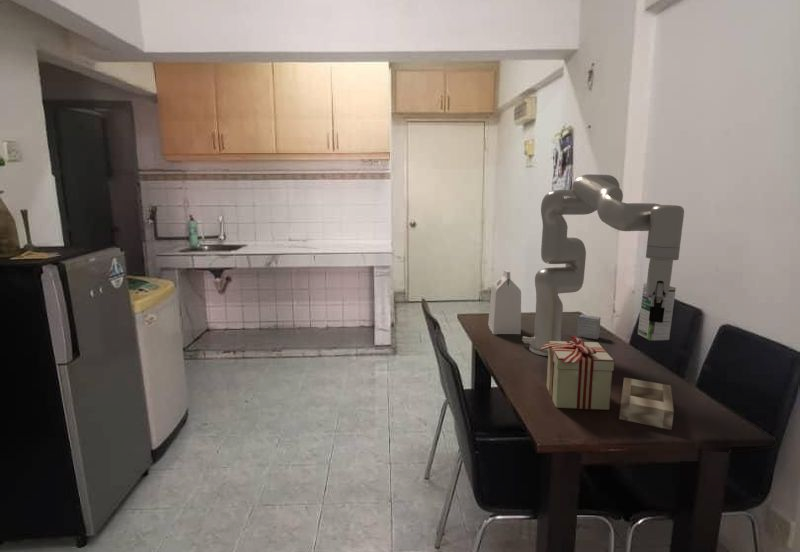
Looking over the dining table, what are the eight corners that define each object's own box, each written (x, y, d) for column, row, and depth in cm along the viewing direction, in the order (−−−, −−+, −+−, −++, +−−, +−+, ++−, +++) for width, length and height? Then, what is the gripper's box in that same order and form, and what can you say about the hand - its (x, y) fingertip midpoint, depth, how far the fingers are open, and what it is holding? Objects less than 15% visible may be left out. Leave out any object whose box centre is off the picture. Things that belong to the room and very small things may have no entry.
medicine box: (599, 337, 191) (601, 316, 190) (597, 340, 188) (599, 319, 186) (579, 333, 195) (580, 314, 194) (576, 336, 192) (578, 316, 190)
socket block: (619, 418, 123) (621, 401, 122) (622, 393, 138) (623, 377, 138) (671, 429, 117) (673, 411, 116) (668, 401, 133) (670, 385, 132)
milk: (520, 334, 194) (524, 273, 189) (493, 334, 194) (496, 273, 189) (514, 326, 205) (517, 268, 200) (488, 326, 205) (490, 268, 201)
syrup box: (636, 334, 128) (642, 282, 125) (656, 333, 128) (662, 282, 125) (649, 340, 122) (655, 287, 119) (670, 340, 123) (677, 286, 120)
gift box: (532, 386, 143) (535, 332, 140) (592, 387, 142) (597, 333, 139) (547, 412, 126) (552, 352, 123) (616, 414, 126) (622, 353, 122)
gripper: (645, 248, 130) (639, 309, 133) (646, 255, 115) (639, 324, 118) (676, 250, 127) (669, 312, 130) (681, 258, 112) (673, 328, 115)
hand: (655, 317), depth 124 cm, fingers closed on syrup box, 7 cm apart
